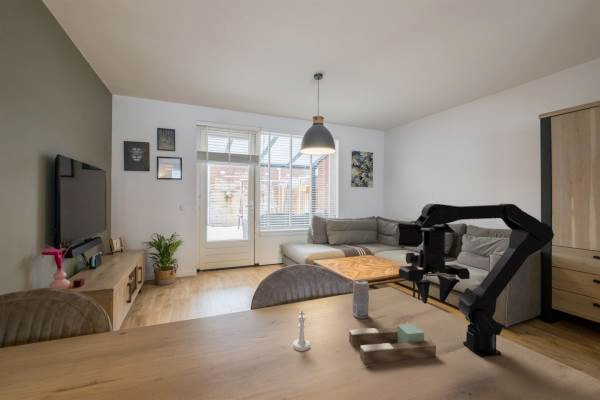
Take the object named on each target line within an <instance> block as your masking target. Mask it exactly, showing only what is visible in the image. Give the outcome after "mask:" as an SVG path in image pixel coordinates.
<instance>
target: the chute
mask: <svg viewBox="0 0 600 400" xmlns="http://www.w3.org/2000/svg"><path fill="white" fill-rule="evenodd" d="M397 328H398V326H397V327H388V328H387V327H385V328H383V327H382V328H376V327H374V328H373V327H372V328H356V329H349V330H348V343H350V345H351V346H352V347H354V346H356V347H358V346H359V349H360V350H359V359H360V360H361V362H362V364H364V365H365V364H366V365H367V364H376V363H385V362H397V361H408V360H417V359H418V360H419V359H428V358H429V359H430V358H436V357H437V345H436V344H435V343H433V341H432V340H424V341H420V342H408V343H397Z"/></svg>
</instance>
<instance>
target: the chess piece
mask: <svg viewBox="0 0 600 400" xmlns="http://www.w3.org/2000/svg"><path fill="white" fill-rule="evenodd" d="M298 315H299V316H298V318H297V319H298V321H299V324H298V325H297V327H298V328H299V333H298V334H299V335H298V338H297V339H295V340H294V341H293V343H292V348H293V349H294V350H296V351H299V352H305V351H308V350H310V349H311V342H310V341H309V340H308V339H306V338H305V328H306V324H305V321H306V316H305V315H306V312H304V310H303V309H301V310H300V311H298Z"/></svg>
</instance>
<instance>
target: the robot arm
mask: <svg viewBox="0 0 600 400" xmlns="http://www.w3.org/2000/svg"><path fill="white" fill-rule="evenodd" d="M488 219H501V220H502V221H503V223H504V224H505V226H506V227H507V228H508V229H510V230H511V233H510V234H509V240H508V241H509V242H508V246H507V248H506V249H505V251H504V252H503V254H502V255H500V257H499V258H498V260H497V262H496V263H495V264H494V265H493V267H492V268H491V269H490V271H489V272H488V274H487V275H486V276H485V277H484V278H483V281H482V282H481V283H480V285H478V287H476V288H473V289H472V290H471V289H470V288H469V287H466V288H465V290H464V291H463V294H462V295H461V296H458V300H459V301H458V302H457V304H458V305H457V306H458V310H459V312H460V313H461V314H462V315H463V316H464V318H465V320H466V321H468V322H469V324H467V330H466V331H465V333H466V334H465V335H466V340H465V341H463V342H462V345H464V346H465V347H466V348H468V349H469V350H471V351H472V352H474V353H475V354H477V355H478V356H479V357H488V356H489V357H492V356H499V355H502V352H501V351H500V350H499V349H497V336H500V335H501V333H502V330H503V326H501V325H500V324H499V323H498V322H497V321H496V320H495V319H494V315H495V314H496V312H497V311H496V310H497V301H498V299H499V297H500V296H501V295H502V293H503V291H505V289H506V288H507V287H508V285H509V283H510V282H511V281H512V280H513V278H514V277H515V276H516V274H517V273H518V272H519V270H520V269H521V268H522V266H523V265H524V264H525V263H526V261H527V259H528V258H529V257H531V255H532V256H533V255H534V254H536V253H537V252H540V251H543V249H544V248H546V246H548V245H549V244H550V243H551V242H552V241H553V239H554V236H555V233H554V230H553V228H552V227H551V226H550V225H549V224H548V223H545V222H541V220H539V219H537V218H536V217H534V216H533V215H531V214H529V213H527V212H526V211H524V210H523V209H522V208H520V207H519V206H518V205H516V204H513V203H499V204H484V205H483V204H482V205H481V204H479V205H452V204H451V205H449V204H443V203H428V204H425V205H424V207H422V209H421V214H420V215H419V216H418V218H417V219H416V220H415V221H414V222H413V223H404V222H397V224H396V229H395V232H394V241H395V245H396V247H399V248H400V247H405V248H418V247H419V246H421V245H422V249H420V250H419V254H415V253H414V252H407V253H405V263H406V264H407V265H403V266H400V267H399V268H398V276H399V277H401V278H403V279H404V280H406V281H408V282H413V283H415V285H416V288H417V289H418V292H419V294H420V295H419V296H420V299H421V301H422V303H423V304H425V305H427V303H428V299H429V291H430V288H431V287H430V285H431V282H430V281H429V280H427V277H437V279H438V281H439V301H440V303H442V304H443V303H445V302H446V300H447V298H448V296H449V295H450V293H451V291H452V290H453V289H454V288H455V286H456V285H457V284H458V283H460V282H461V281H460V280H469V279H470V278H471V276H470V275H471V274H470V273H471V272H470V270H469V269H468V268H467V267H465V266H462V265H461V266H460V265H459V264H446V258H449V257H450V253H449V252H447V251H446V250H447V249H446V246H447V245H446V242H447V239H446V238H447V234H448V233H449V234H450V233H451V234H454V233H455V230H454V229H453V228H452V227H450V225H449V224H450V223H453V222H454V223H455V222H457V221H462V220H463V221H464V220H488ZM408 264H409V265H408ZM419 268H420V269H419ZM457 277H458V279H457Z"/></svg>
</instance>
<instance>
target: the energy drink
mask: <svg viewBox="0 0 600 400" xmlns="http://www.w3.org/2000/svg"><path fill="white" fill-rule="evenodd" d="M369 287H370V284H369V282H368V280H365V279H354V280H353V283H352V315H353V317H355V318H356V319H361V320H363V319H367V318H369V297H370V294H369V291H370V288H369Z"/></svg>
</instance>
